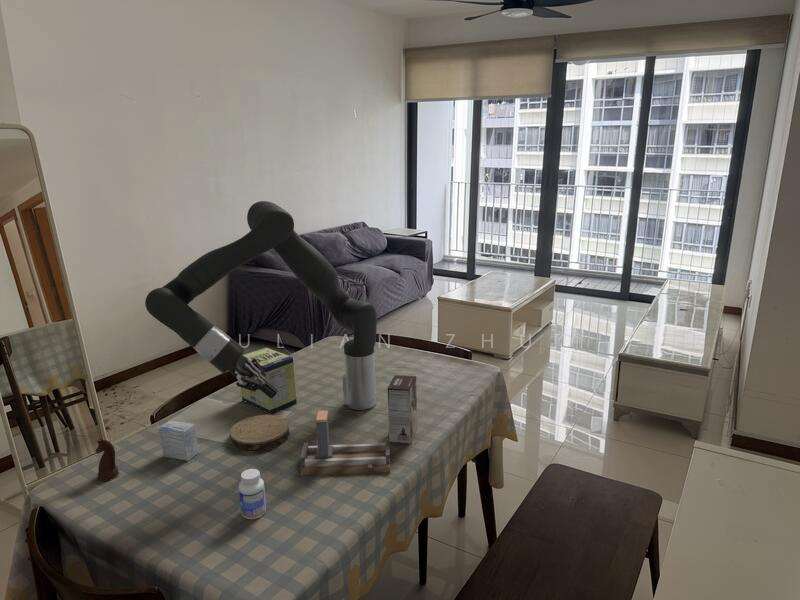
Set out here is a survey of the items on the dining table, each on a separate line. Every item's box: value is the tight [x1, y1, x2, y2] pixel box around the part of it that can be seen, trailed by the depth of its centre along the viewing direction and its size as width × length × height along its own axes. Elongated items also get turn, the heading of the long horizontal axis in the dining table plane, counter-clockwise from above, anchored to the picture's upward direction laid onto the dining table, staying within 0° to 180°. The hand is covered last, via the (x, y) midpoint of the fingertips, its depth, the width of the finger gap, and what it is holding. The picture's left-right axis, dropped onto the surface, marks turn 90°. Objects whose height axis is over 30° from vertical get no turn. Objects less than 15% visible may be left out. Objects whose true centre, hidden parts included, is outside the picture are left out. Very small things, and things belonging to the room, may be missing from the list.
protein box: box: [240, 346, 298, 414], centre depth 174 cm, size 10×16×16 cm
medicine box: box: [159, 420, 199, 462], centre depth 145 cm, size 8×4×9 cm, turn 71°
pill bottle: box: [238, 468, 267, 520], centre depth 121 cm, size 5×5×10 cm
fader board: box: [299, 439, 391, 476], centre depth 141 cm, size 22×10×4 cm, turn 92°
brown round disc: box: [229, 414, 290, 453], centre depth 155 cm, size 16×16×3 cm
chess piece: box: [95, 438, 120, 482], centre depth 136 cm, size 5×5×10 cm
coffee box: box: [387, 374, 418, 444], centre depth 152 cm, size 9×6×16 cm
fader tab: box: [315, 410, 333, 459], centre depth 139 cm, size 4×5×12 cm
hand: (274, 394), depth 136 cm, fingers closed
